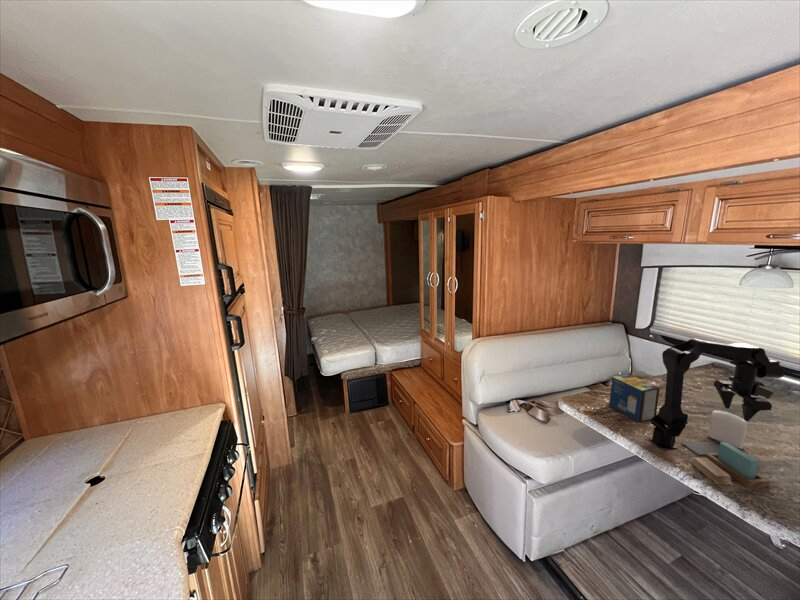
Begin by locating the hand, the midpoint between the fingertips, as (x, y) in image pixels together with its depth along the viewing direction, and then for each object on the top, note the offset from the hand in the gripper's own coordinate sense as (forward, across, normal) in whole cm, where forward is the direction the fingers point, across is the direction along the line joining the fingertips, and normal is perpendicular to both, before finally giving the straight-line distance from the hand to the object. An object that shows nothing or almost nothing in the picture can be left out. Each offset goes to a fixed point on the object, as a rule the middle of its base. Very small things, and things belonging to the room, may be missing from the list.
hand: (736, 414), depth 120 cm
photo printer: (+14, +3, -1) cm, 15 cm away
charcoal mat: (+14, -4, +10) cm, 18 cm away
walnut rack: (+14, -16, +9) cm, 23 cm away
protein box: (+15, +21, +25) cm, 36 cm away
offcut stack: (+15, -18, +18) cm, 29 cm away
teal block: (+14, -16, +9) cm, 23 cm away
